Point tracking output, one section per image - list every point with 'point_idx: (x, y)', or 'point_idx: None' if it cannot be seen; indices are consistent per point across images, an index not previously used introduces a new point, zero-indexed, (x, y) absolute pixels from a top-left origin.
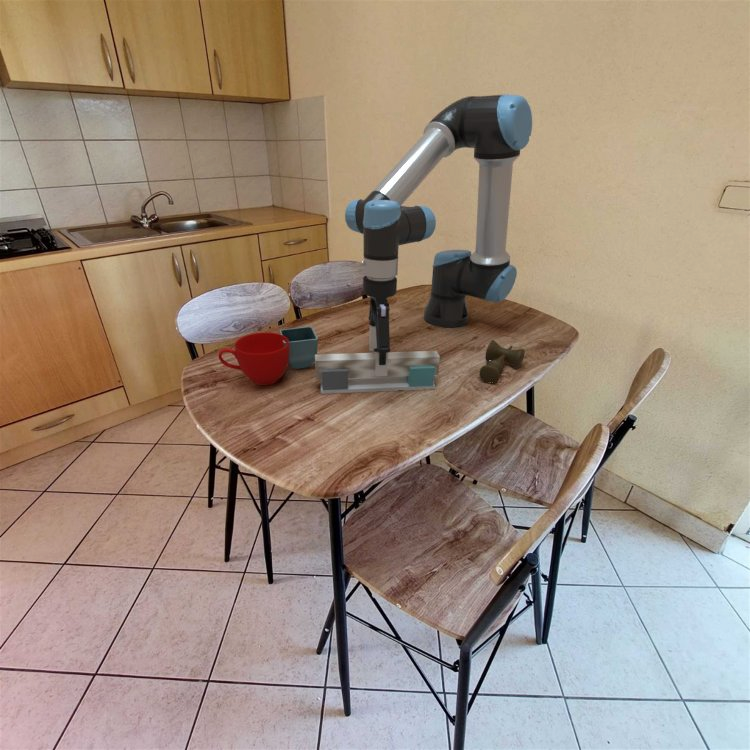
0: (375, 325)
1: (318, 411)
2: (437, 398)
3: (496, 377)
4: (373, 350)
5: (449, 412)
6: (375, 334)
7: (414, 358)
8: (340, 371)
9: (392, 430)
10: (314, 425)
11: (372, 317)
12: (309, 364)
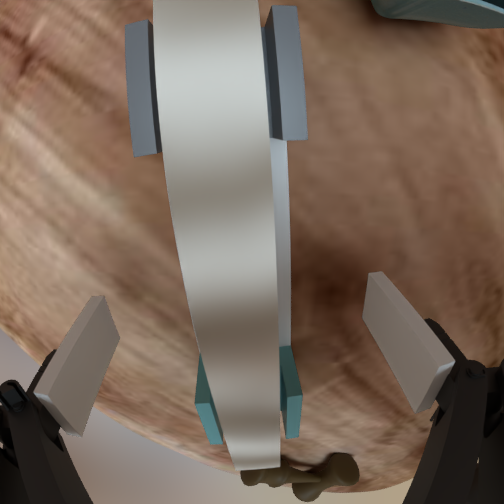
0: (442, 392)
1: (55, 71)
2: (169, 391)
3: (240, 472)
4: (367, 292)
5: (117, 396)
6: (404, 359)
7: (224, 434)
8: (129, 117)
9: (18, 283)
10: (4, 86)
11: (432, 473)
12: (373, 2)
